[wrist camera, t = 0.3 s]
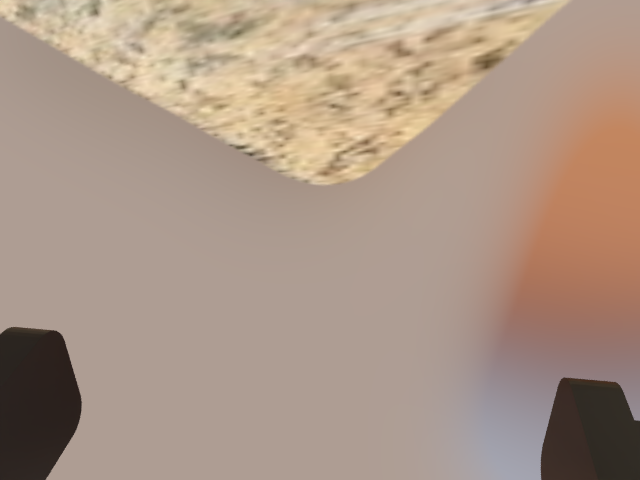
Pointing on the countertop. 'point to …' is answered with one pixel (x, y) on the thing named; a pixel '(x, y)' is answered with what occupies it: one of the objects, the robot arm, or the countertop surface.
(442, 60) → the countertop surface
